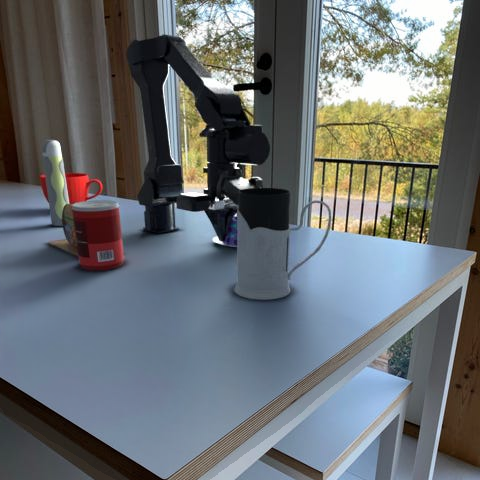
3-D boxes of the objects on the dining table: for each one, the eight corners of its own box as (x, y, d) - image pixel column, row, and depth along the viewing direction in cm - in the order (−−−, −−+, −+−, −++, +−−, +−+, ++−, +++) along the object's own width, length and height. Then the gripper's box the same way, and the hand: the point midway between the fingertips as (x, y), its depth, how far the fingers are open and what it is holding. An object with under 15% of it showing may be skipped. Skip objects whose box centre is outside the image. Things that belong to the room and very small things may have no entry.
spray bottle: (74, 225, 119) (63, 140, 111) (54, 227, 116) (41, 140, 108) (69, 222, 122) (57, 139, 115) (49, 224, 120) (36, 139, 112)
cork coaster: (79, 238, 106) (79, 237, 106) (120, 254, 93) (119, 252, 93) (48, 243, 101) (48, 242, 101) (86, 260, 89) (86, 259, 89)
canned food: (132, 261, 89) (126, 201, 84) (108, 273, 82) (100, 208, 78) (97, 257, 91) (90, 199, 87) (70, 268, 84) (61, 206, 80)
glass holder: (235, 280, 78) (235, 187, 72) (321, 281, 78) (328, 187, 72) (233, 299, 70) (232, 195, 64) (329, 300, 70) (338, 196, 64)
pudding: (279, 242, 102) (280, 218, 100) (241, 252, 94) (242, 226, 92) (238, 234, 110) (238, 211, 108) (200, 243, 102) (200, 218, 100)
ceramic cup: (98, 215, 131) (94, 178, 127) (37, 215, 131) (31, 177, 127) (110, 207, 143) (107, 173, 139) (55, 207, 143) (50, 172, 139)
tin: (63, 241, 102) (57, 201, 99) (77, 239, 104) (72, 199, 101) (92, 255, 91) (87, 211, 88) (107, 252, 93) (103, 209, 90)
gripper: (210, 167, 81) (211, 256, 87) (284, 162, 93) (281, 241, 99) (172, 163, 89) (176, 245, 95) (245, 159, 101) (245, 232, 106)
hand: (222, 241), depth 99 cm, fingers closed
